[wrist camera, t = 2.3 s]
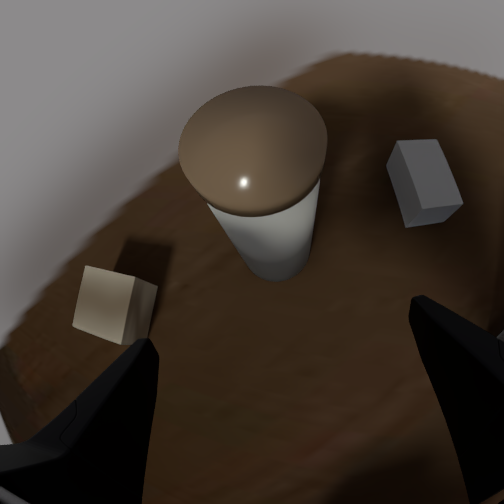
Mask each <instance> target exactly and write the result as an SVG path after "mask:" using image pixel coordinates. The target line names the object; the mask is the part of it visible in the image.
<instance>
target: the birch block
mask: <svg viewBox="0 0 504 504" xmlns="http://www.w3.org/2000/svg"><path fill="white" fill-rule="evenodd" d="M157 288H158V286H156V285H153V284H151V283H149V282H146V281H144V280H141V279H139V278H137V277H133V276H129V275H124V274H120V273H116V272H111V271H107V270H103V269H98V268H94V267H90V266H85V270H84V274H83V278H82V283H81V287H80V291H79V296H78V300H77V305H76V310H75V315H74V321H73V327H76V328H78V329H80V330H83V331H85V332H88V333H91V334H93V335H96V336H98V337H101V338H104V339H107V340H109V341H112V342H115V343H118V344H121V345H132V344H133V343H134V342H135V341H136V340H137V339H139V338H147V336H148V331H149V326H150V321H151V316H152V311H153V306H154V302H155V297H156V293H157Z"/></svg>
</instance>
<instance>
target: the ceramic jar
mask: <svg viewBox="0 0 504 504" xmlns="http://www.w3.org/2000/svg"><path fill="white" fill-rule="evenodd" d="M178 149H179V160H180V164H181V167H182V170H183V171H184V173H185V175H186V177H187V178H188V180H189V181H190V183H191V184H192V186H193V187H194V189H195V190H196V192H197V193H198V194H199V196H200V197H201V198H202V199H203V200H204V201H205V202H206V203H207V204H208V206H209V207H210V209H211V210H212V212H213V213H214V215H215V216H216V218H217V220H218V221H219V223H220V224H221V226H222V227H223V229H224V230H225V232H226V234H227V235H228V237H229V238H230V240H231V241H232V243H233V244H234V246H235V247H236V249H237V250H238V252H239V254H240V255H241V257H242V258H243V260H244V261H245V263H246V264H247V266H248V267H249V269H250V270H251V271H252V272H253V273H254V274H255V275H257V276H258V277H260V278H262V279H264V280H268V281H274V282H277V281H284V280H288V279H290V278H292V277H294V276H295V275H297V274H298V273H299V272H300V271H301V270H302V269H303V268H304V266H305V265H306V263H307V261H308V258H309V253H310V247H311V241H312V234H313V228H314V221H315V214H316V207H317V200H318V192H319V185H320V177H321V175H322V172H323V169H324V164H325V157H326V150H327V130H326V126H325V123H324V121H323V119H322V117H321V115H320V113H319V112H318V111H317V110H316V108H315V107H314V106H313V105H312V104H311V103H310V102H308V101H307V100H306V99H304V98H303V97H301V96H299V95H298V94H296V93H293V92H291V91H288V90H285V89H282V88H278V87H272V86H248V87H242V88H237V89H234V90H230V91H228V92H225V93H223V94H220V95H218V96H216V97H214V98H213V99H211V100H210V101H208V102H206V103H205V104H204V105H203V106H201V107H200V108H199V109H198V110H197V111H196V112H195V113H194V114H193V116H192V117H191V118H190V119H189V121H188V122H187V124H186V125H185V127H184V129H183V132H182V134H181V137H180V141H179V148H178Z"/></svg>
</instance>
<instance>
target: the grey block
mask: <svg viewBox="0 0 504 504" xmlns="http://www.w3.org/2000/svg"><path fill="white" fill-rule="evenodd" d="M386 168H387V171H388V173H389V176H390V179H391V182H392V185H393V188H394V191H395V194H396V197H397V200H398V204H399V207H400V210H401V213H402V217H403V220H404V224H405V227H406V228H408V227H414V226H421V225H427V224H434V223H440V222H444V221H445V220H446V219H448V218H449V217H450V216H451V215H452V214H453V213H454V212H455V211H456V210H457V209H458V208H459V207H461V206H462V205H463V201H462V198H461V196H460V193H459V190H458V188H457V185H456V182H455V180H454V177H453V175H452V172H451V170H450V168H449V165H448V163H447V161H446V158H445V156H444V154H443V152H442V149H441V147H440V145H439V143H438V141H437V139H428V140H402V141H397V142H396V144H395V146H394V149H393V151H392V153H391V155H390V158H389V160H388V162H387V164H386Z"/></svg>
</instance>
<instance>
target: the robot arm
mask: <svg viewBox="0 0 504 504" xmlns="http://www.w3.org/2000/svg"><path fill="white" fill-rule="evenodd" d="M409 323H410V326H411V329H412V332H413V335H414V338H415V341H416V344H417V347H418V350H419V353H420V356H421V359H422V362H423V364H424V367H425V369H426V371H427V374H428V376H429V378H430V381H431V383H432V386H433V388H434V391H435V393H436V396H437V399H438V401H439V404H440V406H441V409H442V412H443V415H444V417H445V420H446V423H447V426H448V429H449V432H450V435H451V438H452V441H453V444H454V447H455V450H456V453H457V456H458V460H459V464H460V467H461V471H462V474H463V478H464V482H465V485H466V489H467V493H468V497H469V502H470V504H479V503H481V502H483V501H485V500H486V499H488V498H490V497H492V496H493V495H495V494H497V493H498V492H500V491H501V490H503V489H504V342H503V341H502V340H500V339H498V338H497V337H495V336H493V335H492V334H490V333H488V332H487V331H485V330H483V329H482V328H480V327H478V326H477V325H475V324H473V323H472V322H470V321H468V320H467V319H465V318H463V317H461V316H460V315H458V314H456V313H454V312H453V311H451V310H449V309H448V308H446V307H444V306H442V305H441V304H439V303H437V302H435V301H433V300H432V299H430V298H428V297H426V296H424V295H419V296H415V297H413V298H412V299H411V304H410V310H409ZM158 370H159V355H158V352H157V351H156V349H155V347H154V345H153V343H152V341H151V340H150V339H149V338H139V339H137V340H136V341H135V342H134V343H133V344H132V345H131V346H130V347H129V348H128V349H127V350H126V351H125V352H123V353H122V354H121V355H120V356H119V357H118V358H117V359H116V360H115V361H114V362H113V363H112V364H111V365H110V366H109V367H108V368H107V369H106V370H105V371H104V372H103V373H102V374H101V375H100V376H99V377H98V378H96V379H95V380H94V381H93V382H92V383H91V384H90V385H89V386H88V387H87V388H86V389H85V390H84V391H83V392H82V393H81V394H80V395H79V396H78V397H77V398H76V400H74V401H73V402H72V403H71V404H70V405H69V406H68V407H67V408H66V409H64V410H63V411H62V412H61V413H60V414H59V415H58V416H57V417H56V418H54V419H53V420H52V421H51V422H50V423H48V424H47V425H46V426H45V427H44V428H42V429H41V430H40V431H39V432H38V433H36V434H35V435H34V436H33V437H31V438H30V439H29V440H27V441H25V442H22V443H19V444H10V445H0V504H142V494H143V485H144V477H145V469H146V461H147V454H148V447H149V440H150V434H151V427H152V421H153V415H154V409H155V403H156V397H157V384H158ZM498 504H504V500H502V501H501V502H499V503H498Z"/></svg>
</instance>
